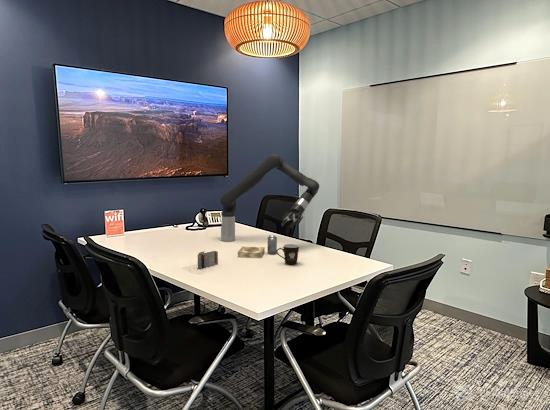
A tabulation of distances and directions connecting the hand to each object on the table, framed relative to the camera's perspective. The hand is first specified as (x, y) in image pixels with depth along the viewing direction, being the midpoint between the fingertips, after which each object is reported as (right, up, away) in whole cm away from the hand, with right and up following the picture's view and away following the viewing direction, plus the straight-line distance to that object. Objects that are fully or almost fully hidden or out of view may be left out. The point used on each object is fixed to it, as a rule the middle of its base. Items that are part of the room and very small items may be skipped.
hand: (286, 226), depth 229 cm
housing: (-9, -16, -5) cm, 19 cm away
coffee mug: (0, -19, -26) cm, 32 cm away
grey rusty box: (-43, -20, -33) cm, 57 cm away
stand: (-21, -16, -8) cm, 28 cm away
